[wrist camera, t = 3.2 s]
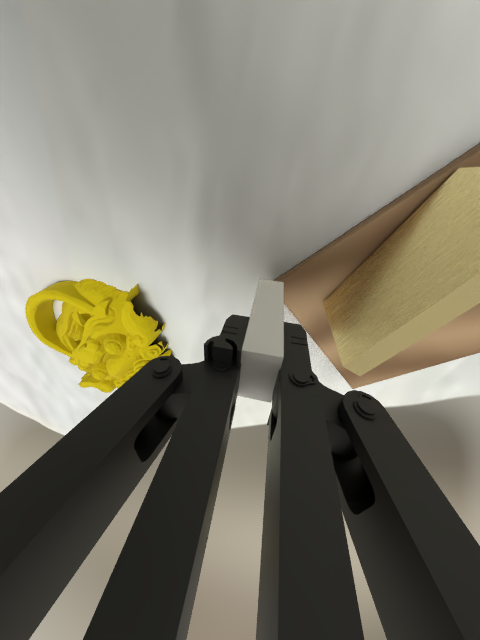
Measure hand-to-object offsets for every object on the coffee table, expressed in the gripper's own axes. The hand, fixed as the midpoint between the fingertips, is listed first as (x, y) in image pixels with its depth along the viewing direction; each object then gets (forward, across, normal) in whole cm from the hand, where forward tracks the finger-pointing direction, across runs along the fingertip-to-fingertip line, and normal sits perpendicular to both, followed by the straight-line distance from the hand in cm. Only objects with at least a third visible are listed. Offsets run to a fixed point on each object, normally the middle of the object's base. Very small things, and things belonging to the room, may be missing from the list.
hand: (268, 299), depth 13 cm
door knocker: (+6, -19, -12) cm, 23 cm away
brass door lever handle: (+3, +9, +3) cm, 10 cm away
